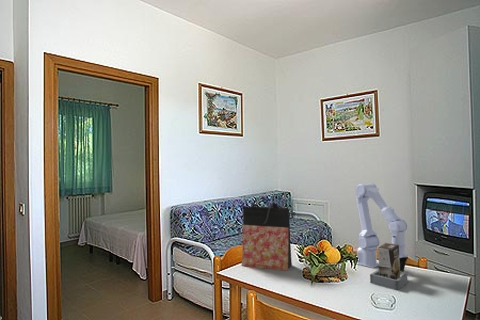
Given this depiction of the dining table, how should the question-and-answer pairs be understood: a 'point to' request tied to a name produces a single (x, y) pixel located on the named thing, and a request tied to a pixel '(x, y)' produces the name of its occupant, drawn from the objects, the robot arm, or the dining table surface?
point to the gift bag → (266, 237)
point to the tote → (388, 281)
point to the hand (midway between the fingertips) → (398, 272)
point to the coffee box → (389, 261)
